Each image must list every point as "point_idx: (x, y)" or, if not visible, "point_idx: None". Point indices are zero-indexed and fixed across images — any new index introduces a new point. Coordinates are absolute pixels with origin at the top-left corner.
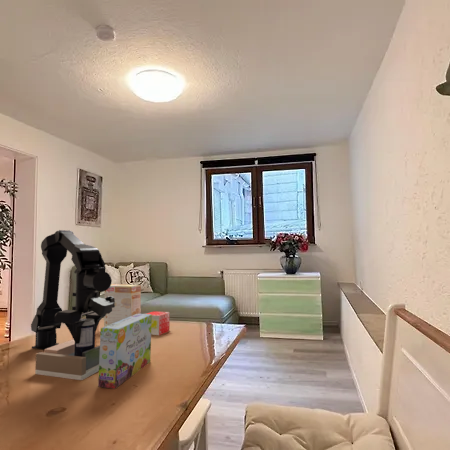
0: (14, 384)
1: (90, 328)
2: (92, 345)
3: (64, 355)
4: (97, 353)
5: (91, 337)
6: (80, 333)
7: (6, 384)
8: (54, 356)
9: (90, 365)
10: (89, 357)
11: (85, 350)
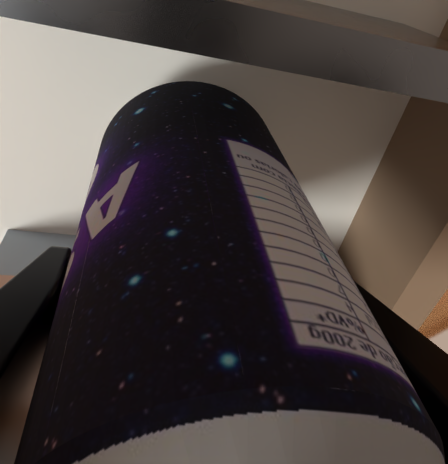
0: (442, 308)
1: (354, 334)
2: (222, 135)
3: (445, 248)
4: (267, 2)
5: (270, 200)
6: (410, 354)
7: (433, 332)
8: (433, 301)
9: (347, 11)
10: (402, 31)
11: (286, 162)
